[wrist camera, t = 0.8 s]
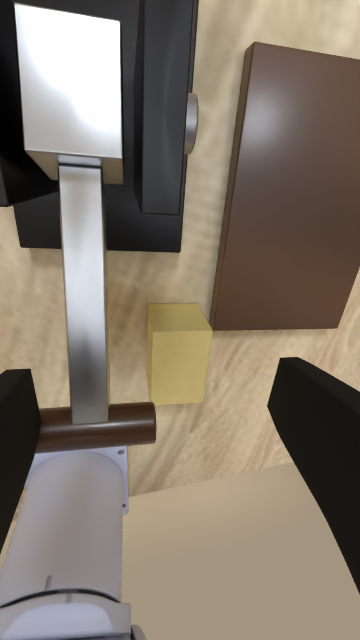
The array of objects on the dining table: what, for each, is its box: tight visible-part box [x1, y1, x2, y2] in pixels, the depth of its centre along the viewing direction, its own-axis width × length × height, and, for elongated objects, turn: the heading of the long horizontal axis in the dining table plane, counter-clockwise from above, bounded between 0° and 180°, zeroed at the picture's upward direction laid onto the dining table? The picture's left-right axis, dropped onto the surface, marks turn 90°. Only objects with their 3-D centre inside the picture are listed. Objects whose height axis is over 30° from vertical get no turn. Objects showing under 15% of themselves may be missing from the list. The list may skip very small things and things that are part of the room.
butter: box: [147, 304, 213, 405], centre depth 18 cm, size 5×3×4 cm, turn 176°
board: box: [210, 42, 360, 331], centre depth 16 cm, size 14×9×1 cm, turn 176°
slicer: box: [0, 0, 199, 253], centre depth 10 cm, size 10×8×9 cm
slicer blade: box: [13, 3, 156, 454], centre depth 8 cm, size 11×4×2 cm, turn 177°
